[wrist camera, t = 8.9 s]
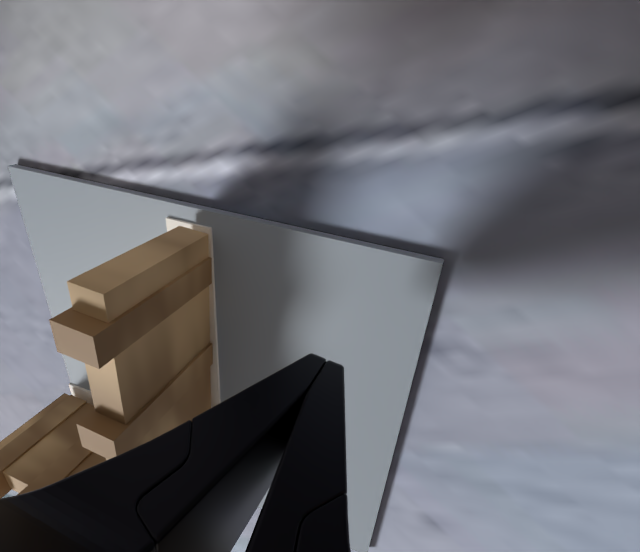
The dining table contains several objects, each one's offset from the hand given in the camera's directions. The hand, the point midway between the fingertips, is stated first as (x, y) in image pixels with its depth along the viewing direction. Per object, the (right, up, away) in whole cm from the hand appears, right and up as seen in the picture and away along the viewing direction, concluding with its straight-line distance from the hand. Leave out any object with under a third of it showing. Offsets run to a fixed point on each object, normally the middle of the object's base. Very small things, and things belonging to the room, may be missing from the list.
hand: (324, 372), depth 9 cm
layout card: (-5, -1, +6) cm, 8 cm away
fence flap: (-4, 0, +5) cm, 6 cm away
